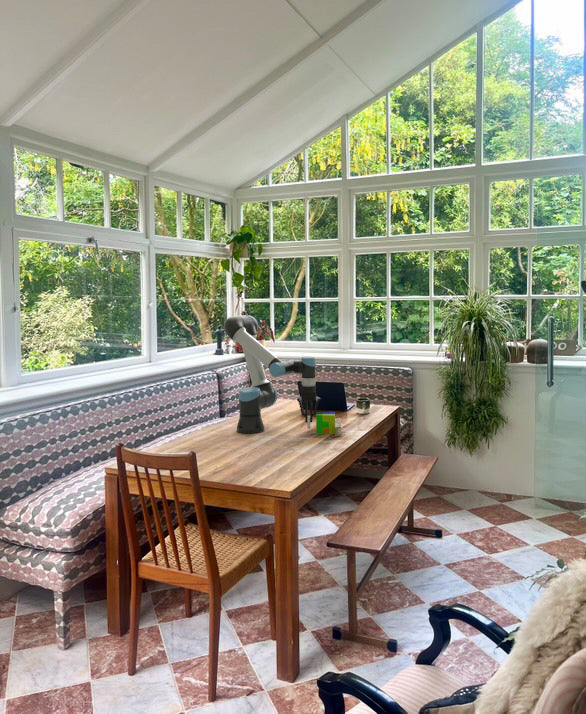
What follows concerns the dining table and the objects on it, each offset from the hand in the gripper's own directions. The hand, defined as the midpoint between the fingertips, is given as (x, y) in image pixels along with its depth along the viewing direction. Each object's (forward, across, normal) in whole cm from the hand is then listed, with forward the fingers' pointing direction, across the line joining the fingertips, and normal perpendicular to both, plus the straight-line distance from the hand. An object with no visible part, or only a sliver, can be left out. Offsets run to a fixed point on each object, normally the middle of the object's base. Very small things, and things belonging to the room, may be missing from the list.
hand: (308, 428), depth 339 cm
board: (+2, +16, 0) cm, 16 cm away
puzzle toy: (+2, +9, 0) cm, 9 cm away
